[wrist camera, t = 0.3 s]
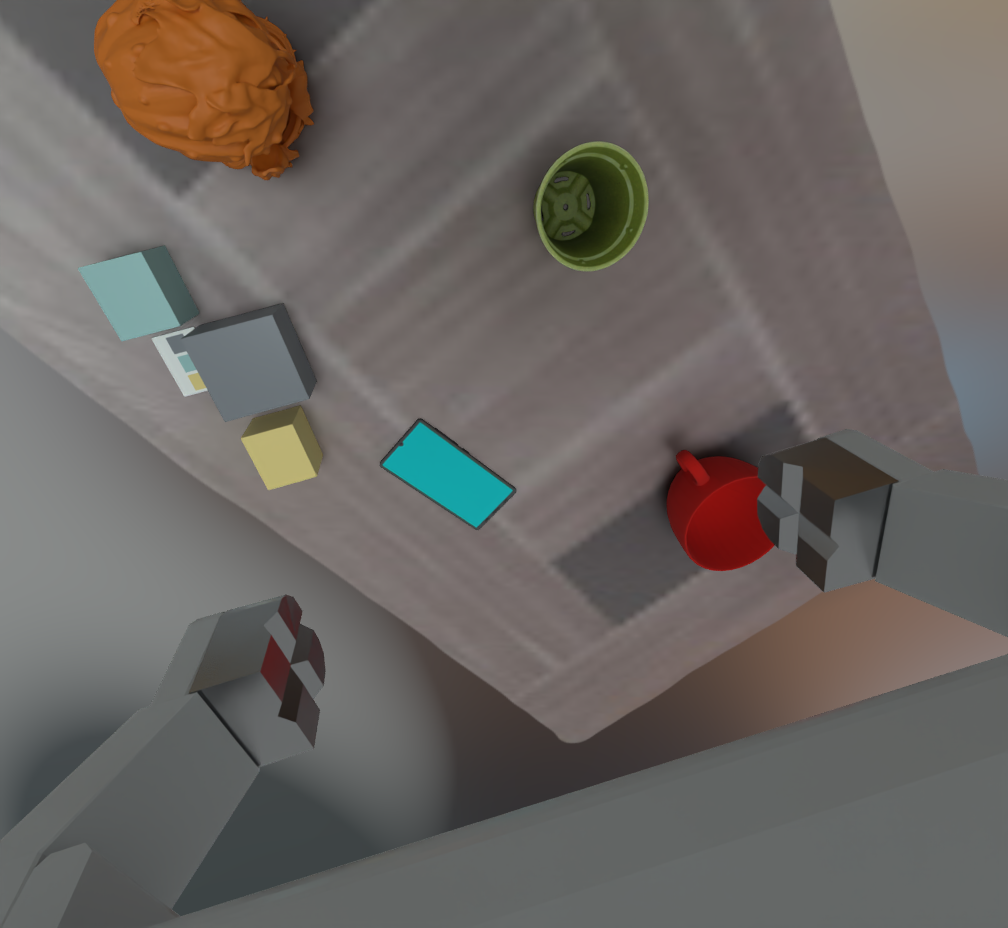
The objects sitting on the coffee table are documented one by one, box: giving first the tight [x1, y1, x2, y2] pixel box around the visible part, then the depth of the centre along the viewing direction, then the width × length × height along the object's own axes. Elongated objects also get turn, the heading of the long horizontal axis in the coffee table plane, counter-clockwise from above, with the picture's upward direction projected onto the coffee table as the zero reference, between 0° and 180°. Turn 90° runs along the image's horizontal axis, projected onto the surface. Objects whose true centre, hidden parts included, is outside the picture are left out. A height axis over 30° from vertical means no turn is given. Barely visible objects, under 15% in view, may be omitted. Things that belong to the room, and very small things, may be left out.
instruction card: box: [151, 327, 208, 397], centre depth 50 cm, size 6×4×1 cm, turn 13°
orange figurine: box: [94, 0, 314, 180], centre depth 34 cm, size 11×11×18 cm
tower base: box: [180, 303, 317, 422], centre depth 49 cm, size 8×8×5 cm
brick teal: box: [78, 246, 199, 341], centre depth 45 cm, size 6×5×5 cm
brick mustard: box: [241, 405, 323, 490], centre depth 54 cm, size 6×5×5 cm
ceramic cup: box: [667, 450, 774, 571], centre depth 63 cm, size 13×17×10 cm
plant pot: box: [533, 141, 649, 271], centre depth 46 cm, size 9×9×9 cm
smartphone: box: [380, 419, 516, 530], centre depth 61 cm, size 7×1×15 cm
